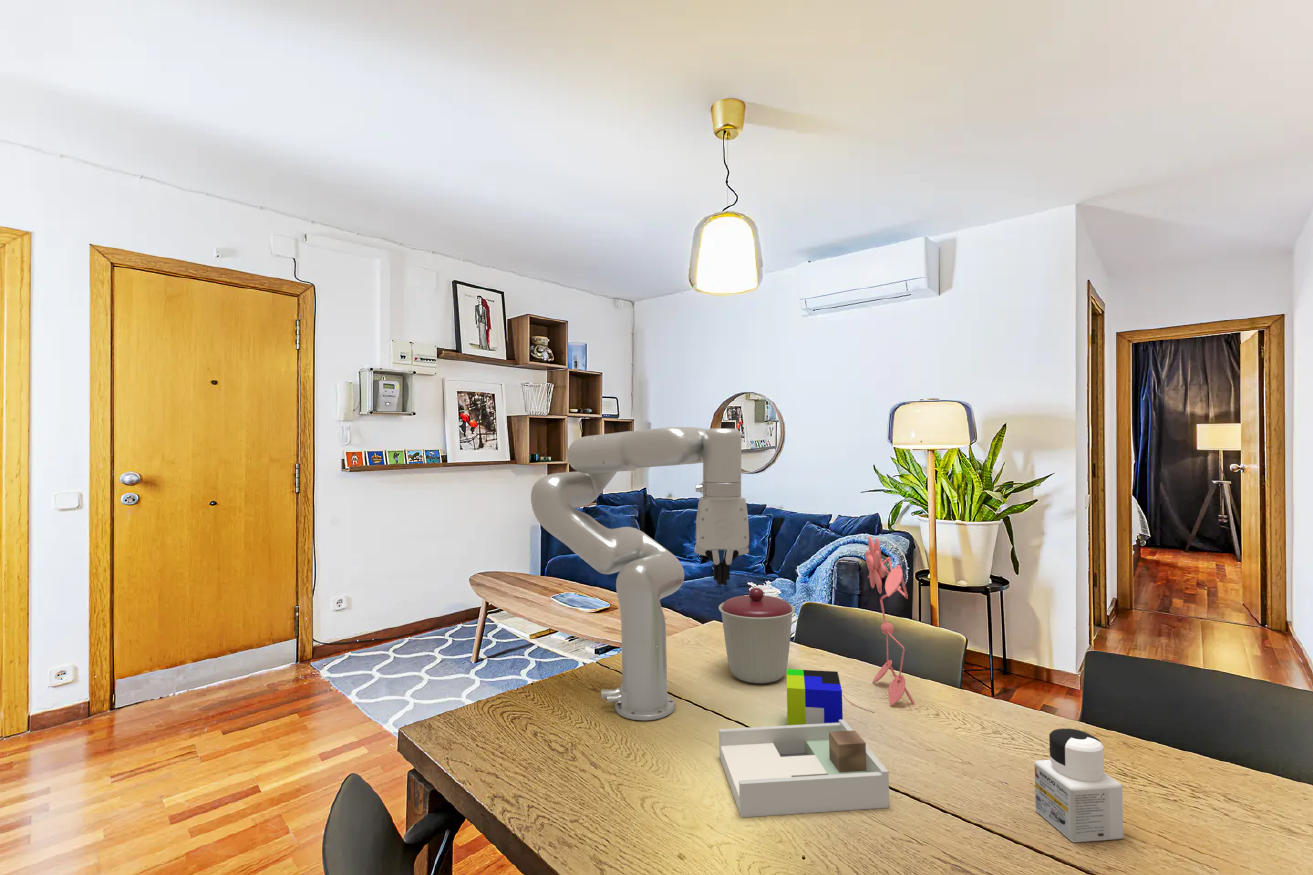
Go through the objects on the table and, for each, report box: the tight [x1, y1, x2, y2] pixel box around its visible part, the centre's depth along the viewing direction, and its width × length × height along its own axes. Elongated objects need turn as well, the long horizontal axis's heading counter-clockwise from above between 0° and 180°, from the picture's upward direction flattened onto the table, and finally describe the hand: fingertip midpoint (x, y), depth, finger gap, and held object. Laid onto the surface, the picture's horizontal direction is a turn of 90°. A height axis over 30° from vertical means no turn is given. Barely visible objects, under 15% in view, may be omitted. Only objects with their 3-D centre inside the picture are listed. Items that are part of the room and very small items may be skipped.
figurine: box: [841, 535, 915, 714], centre depth 138 cm, size 15×26×35 cm, turn 174°
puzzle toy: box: [786, 668, 844, 725], centre depth 121 cm, size 10×10×10 cm
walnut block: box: [829, 729, 867, 773], centre depth 103 cm, size 4×4×4 cm
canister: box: [718, 587, 796, 685], centre depth 150 cm, size 18×18×21 cm
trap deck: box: [718, 719, 890, 818], centre depth 104 cm, size 23×18×6 cm
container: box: [1033, 728, 1124, 843], centre depth 90 cm, size 8×8×13 cm
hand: (721, 583), depth 123 cm, fingers closed
